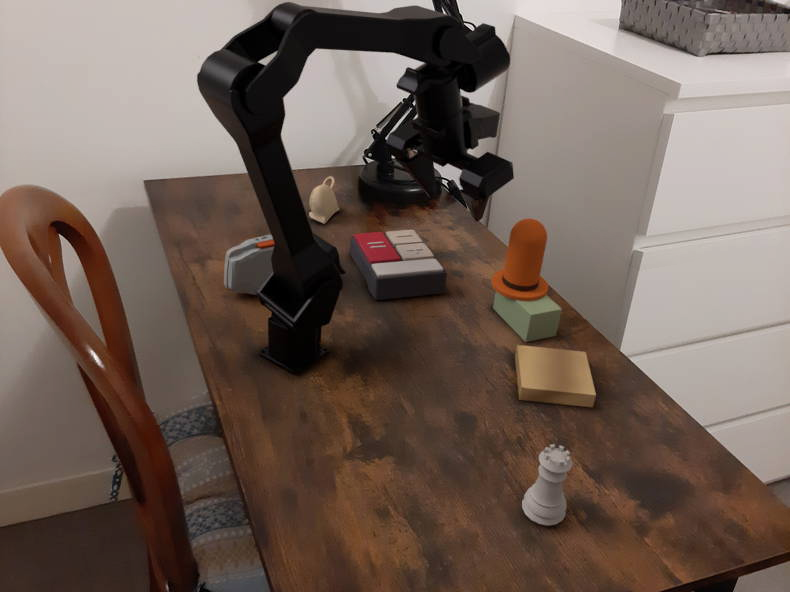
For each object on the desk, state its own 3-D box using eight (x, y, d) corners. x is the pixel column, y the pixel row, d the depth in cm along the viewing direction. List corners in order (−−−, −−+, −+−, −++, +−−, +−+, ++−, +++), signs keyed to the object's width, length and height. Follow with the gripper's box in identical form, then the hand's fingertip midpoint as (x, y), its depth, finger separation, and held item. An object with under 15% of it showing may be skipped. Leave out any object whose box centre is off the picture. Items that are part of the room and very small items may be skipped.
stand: (519, 400, 92) (521, 387, 91) (514, 356, 100) (517, 344, 99) (592, 407, 92) (596, 395, 91) (582, 363, 100) (585, 351, 99)
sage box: (525, 342, 103) (531, 314, 101) (492, 308, 110) (497, 281, 107) (556, 336, 105) (562, 308, 102) (521, 302, 112) (526, 276, 109)
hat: (509, 305, 102) (521, 237, 97) (480, 276, 108) (490, 211, 103) (558, 296, 105) (573, 229, 100) (528, 268, 111) (540, 204, 106)
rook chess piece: (559, 495, 79) (574, 438, 75) (569, 529, 75) (585, 470, 71) (517, 494, 79) (530, 436, 75) (525, 528, 75) (539, 469, 71)
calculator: (415, 226, 122) (448, 267, 110) (413, 250, 124) (445, 293, 112) (349, 231, 119) (376, 274, 107) (348, 256, 121) (374, 300, 109)
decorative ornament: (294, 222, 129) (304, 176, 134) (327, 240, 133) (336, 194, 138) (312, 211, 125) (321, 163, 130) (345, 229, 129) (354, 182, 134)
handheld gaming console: (312, 271, 115) (312, 223, 111) (321, 279, 113) (322, 232, 109) (222, 294, 108) (220, 244, 104) (231, 303, 106) (228, 253, 102)
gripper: (540, 100, 92) (545, 202, 102) (434, 62, 103) (449, 157, 114) (475, 144, 87) (488, 245, 98) (373, 99, 99) (395, 194, 110)
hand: (455, 207), depth 105 cm, fingers open, 9 cm apart
